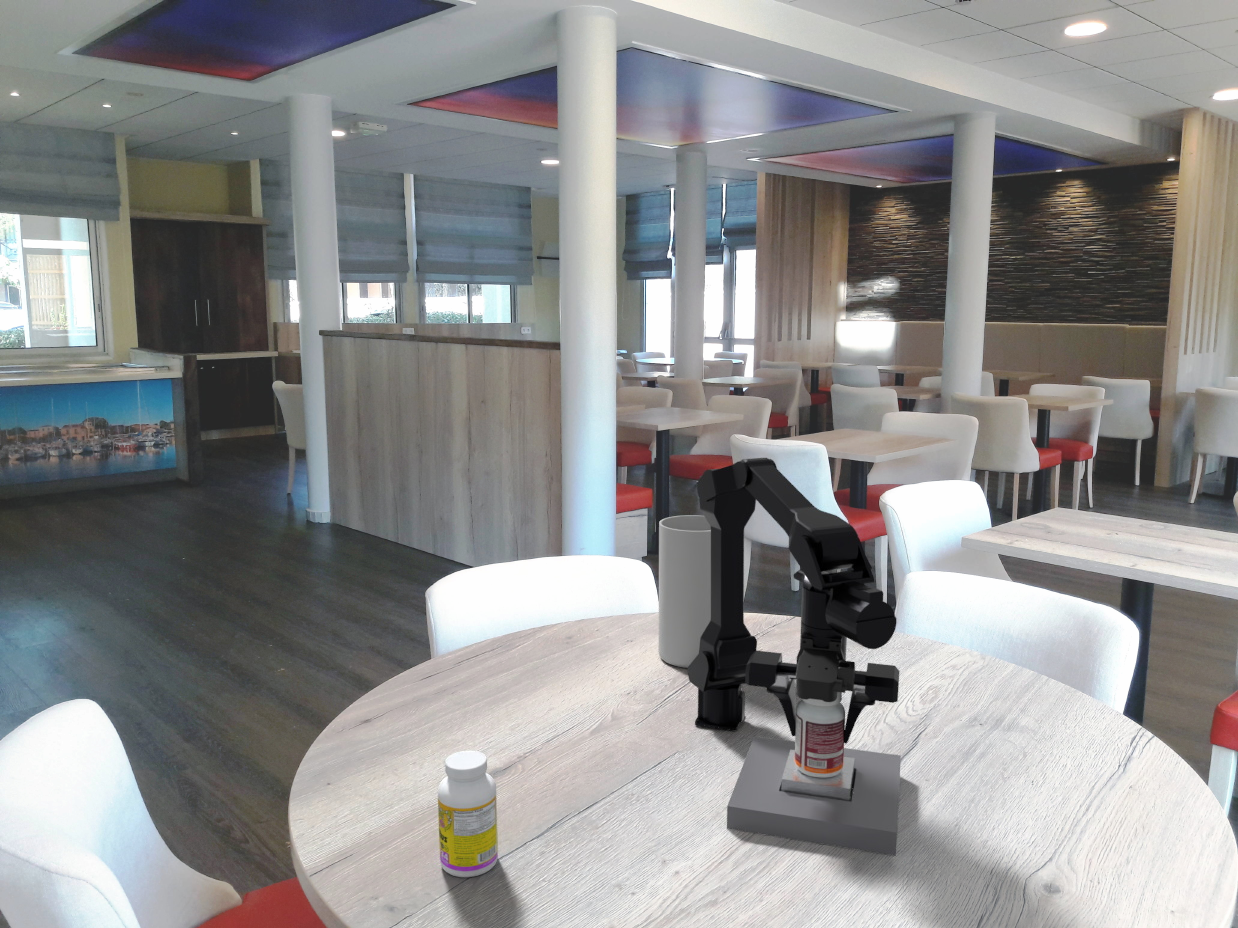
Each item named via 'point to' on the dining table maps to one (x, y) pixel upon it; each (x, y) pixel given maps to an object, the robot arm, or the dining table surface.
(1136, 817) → the dining table surface
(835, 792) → the plunger pad
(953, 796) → the dining table surface
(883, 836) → the plate
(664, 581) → the cylinder vase
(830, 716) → the pill bottle
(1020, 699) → the dining table surface
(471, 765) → the supplement bottle
